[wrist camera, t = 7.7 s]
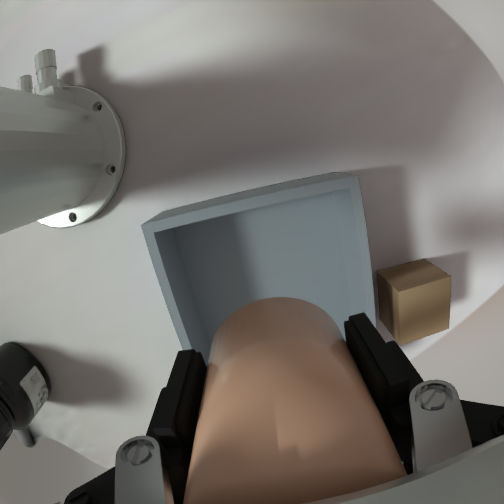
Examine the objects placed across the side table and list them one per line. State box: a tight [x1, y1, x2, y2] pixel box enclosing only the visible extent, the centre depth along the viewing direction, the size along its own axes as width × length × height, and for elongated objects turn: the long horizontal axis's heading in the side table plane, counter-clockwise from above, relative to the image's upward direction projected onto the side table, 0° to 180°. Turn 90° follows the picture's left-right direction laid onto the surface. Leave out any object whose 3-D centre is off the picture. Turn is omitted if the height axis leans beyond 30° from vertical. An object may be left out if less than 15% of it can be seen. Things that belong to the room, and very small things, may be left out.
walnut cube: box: [376, 258, 451, 345], centre depth 26 cm, size 5×5×5 cm
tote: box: [141, 172, 376, 367], centre depth 25 cm, size 17×14×6 cm
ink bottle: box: [0, 343, 50, 450], centre depth 25 cm, size 10×9×12 cm
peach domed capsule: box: [183, 297, 407, 504], centre depth 8 cm, size 5×5×7 cm
